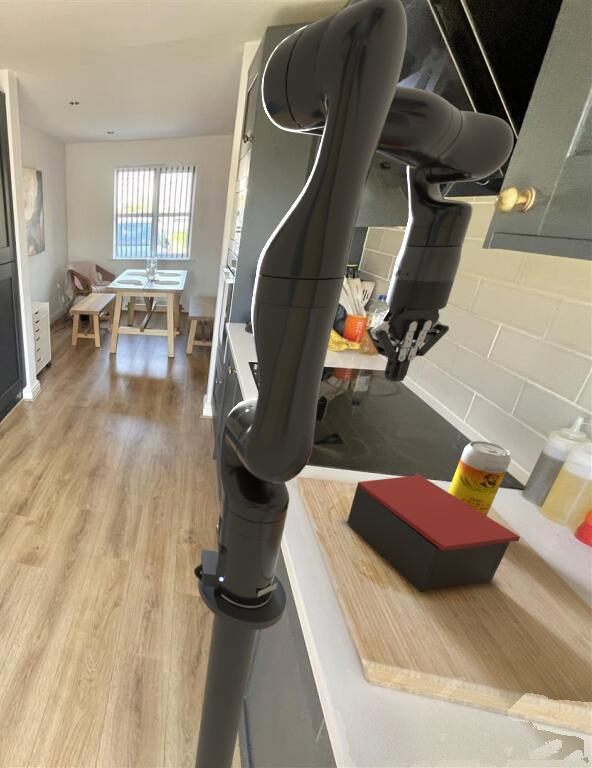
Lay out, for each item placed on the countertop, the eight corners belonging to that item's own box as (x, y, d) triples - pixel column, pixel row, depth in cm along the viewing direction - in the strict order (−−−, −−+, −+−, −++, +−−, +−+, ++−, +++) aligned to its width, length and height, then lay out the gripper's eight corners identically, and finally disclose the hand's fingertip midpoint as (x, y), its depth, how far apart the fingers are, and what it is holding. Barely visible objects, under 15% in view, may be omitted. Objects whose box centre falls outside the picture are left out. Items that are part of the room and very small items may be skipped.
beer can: (456, 524, 75) (483, 456, 70) (434, 503, 81) (458, 439, 75) (492, 526, 74) (523, 458, 69) (468, 505, 80) (494, 440, 74)
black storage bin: (491, 581, 63) (511, 538, 60) (420, 591, 62) (436, 548, 59) (405, 516, 78) (418, 478, 75) (346, 523, 77) (356, 485, 73)
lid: (518, 540, 59) (520, 536, 59) (442, 551, 58) (444, 546, 58) (418, 478, 75) (419, 474, 74) (357, 485, 73) (357, 481, 73)
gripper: (404, 281, 57) (375, 391, 64) (486, 276, 58) (449, 384, 65) (364, 275, 64) (341, 375, 71) (438, 271, 65) (409, 369, 72)
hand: (393, 379), depth 68 cm, fingers closed
